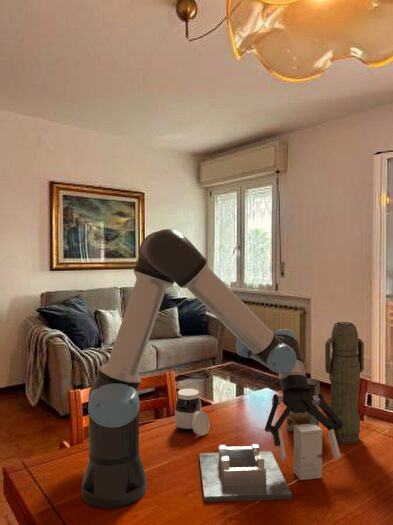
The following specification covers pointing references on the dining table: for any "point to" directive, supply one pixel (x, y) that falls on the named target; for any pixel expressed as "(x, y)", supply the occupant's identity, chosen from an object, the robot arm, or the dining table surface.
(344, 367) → the thermos
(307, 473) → the skincare box
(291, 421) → the coffee box
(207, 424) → the spread jar
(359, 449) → the dining table surface
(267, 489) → the box holder fixture
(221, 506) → the dining table surface
